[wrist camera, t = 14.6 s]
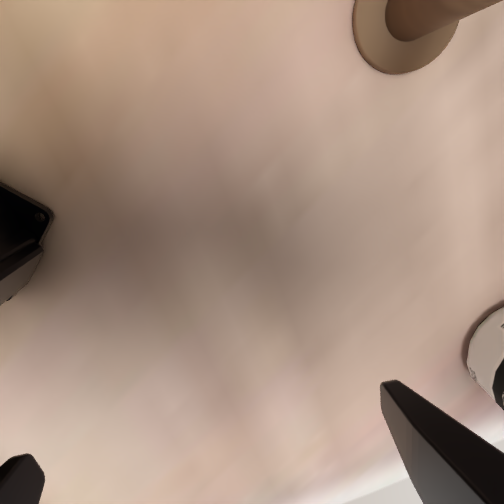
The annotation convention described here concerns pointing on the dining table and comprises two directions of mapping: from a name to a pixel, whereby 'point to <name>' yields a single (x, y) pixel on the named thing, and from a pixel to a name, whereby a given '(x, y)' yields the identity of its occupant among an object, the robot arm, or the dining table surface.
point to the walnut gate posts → (408, 30)
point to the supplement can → (489, 356)
